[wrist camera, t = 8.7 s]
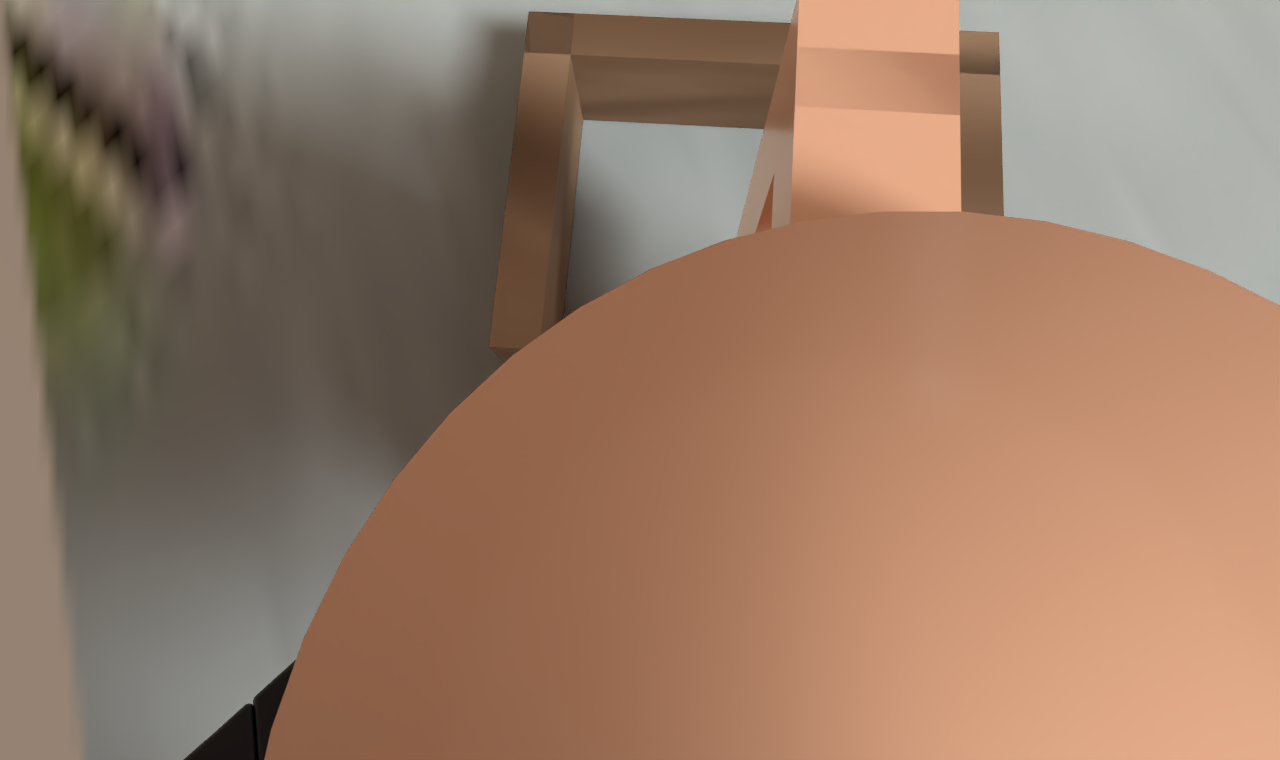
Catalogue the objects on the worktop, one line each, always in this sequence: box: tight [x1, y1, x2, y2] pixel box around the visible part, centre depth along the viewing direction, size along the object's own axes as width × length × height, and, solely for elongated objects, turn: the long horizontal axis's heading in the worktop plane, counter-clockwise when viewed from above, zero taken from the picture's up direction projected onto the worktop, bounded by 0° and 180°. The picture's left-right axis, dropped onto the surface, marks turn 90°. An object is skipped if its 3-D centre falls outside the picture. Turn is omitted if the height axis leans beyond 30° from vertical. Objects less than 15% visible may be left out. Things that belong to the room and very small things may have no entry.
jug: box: [264, 0, 1280, 760], centre depth 9 cm, size 8×6×12 cm
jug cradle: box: [489, 12, 1004, 363], centre depth 16 cm, size 8×10×2 cm
